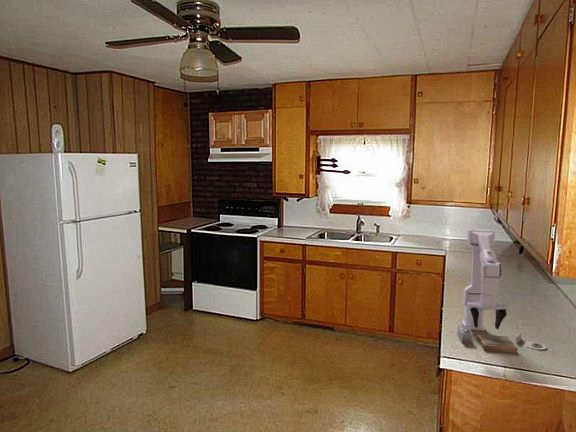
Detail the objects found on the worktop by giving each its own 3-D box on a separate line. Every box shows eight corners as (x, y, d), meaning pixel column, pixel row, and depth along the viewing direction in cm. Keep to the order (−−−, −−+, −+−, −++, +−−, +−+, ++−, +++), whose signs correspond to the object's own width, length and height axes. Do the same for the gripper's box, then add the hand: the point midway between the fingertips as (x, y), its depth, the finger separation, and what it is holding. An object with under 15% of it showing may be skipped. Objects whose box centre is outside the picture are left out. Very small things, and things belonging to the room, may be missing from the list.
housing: (457, 335, 173) (458, 324, 173) (467, 335, 173) (468, 324, 172) (461, 343, 166) (462, 332, 165) (472, 344, 165) (473, 332, 164)
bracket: (544, 353, 159) (544, 344, 158) (515, 345, 165) (516, 336, 165) (548, 347, 163) (548, 339, 163) (519, 339, 170) (520, 331, 170)
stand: (476, 339, 169) (477, 333, 169) (507, 341, 167) (508, 336, 167) (483, 350, 160) (484, 344, 159) (517, 353, 158) (517, 347, 157)
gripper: (471, 295, 153) (469, 330, 155) (513, 298, 150) (510, 333, 152) (466, 289, 160) (464, 322, 162) (506, 292, 157) (503, 325, 159)
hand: (486, 327), depth 158 cm, fingers open, 7 cm apart
